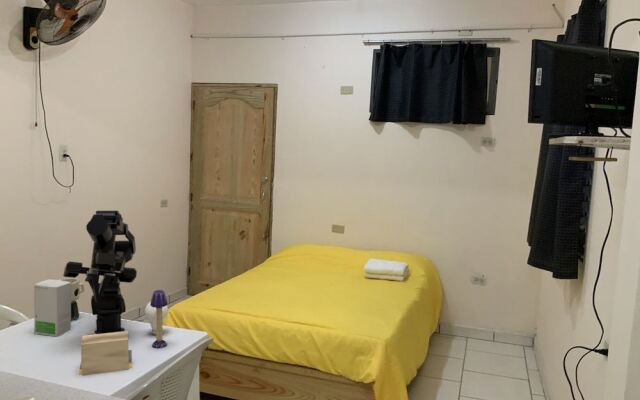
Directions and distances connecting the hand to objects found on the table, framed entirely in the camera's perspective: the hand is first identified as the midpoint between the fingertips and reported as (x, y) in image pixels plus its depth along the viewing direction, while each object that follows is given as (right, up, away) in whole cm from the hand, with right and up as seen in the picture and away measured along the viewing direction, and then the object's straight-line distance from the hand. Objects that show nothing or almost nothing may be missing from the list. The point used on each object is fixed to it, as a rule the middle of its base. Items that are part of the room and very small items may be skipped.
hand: (97, 301), depth 141 cm
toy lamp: (+16, -14, +5) cm, 22 cm away
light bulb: (+12, -13, +13) cm, 22 cm away
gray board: (+5, -15, -6) cm, 17 cm away
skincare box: (-19, -12, +14) cm, 27 cm away
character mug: (-20, -11, +25) cm, 34 cm away
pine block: (+7, -15, -10) cm, 19 cm away
